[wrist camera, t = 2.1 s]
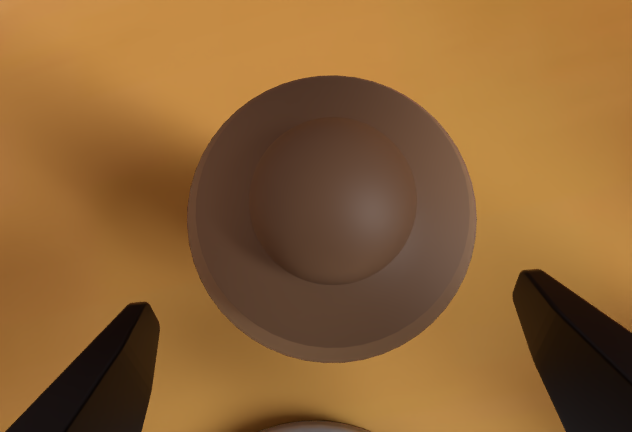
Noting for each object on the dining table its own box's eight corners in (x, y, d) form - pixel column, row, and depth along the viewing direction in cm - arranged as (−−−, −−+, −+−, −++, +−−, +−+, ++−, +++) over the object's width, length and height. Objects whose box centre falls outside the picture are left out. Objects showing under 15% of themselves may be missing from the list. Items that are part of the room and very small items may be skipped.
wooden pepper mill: (314, 315, 19) (273, 526, 4) (257, 231, 19) (28, 133, 4) (397, 257, 19) (659, 243, 4) (339, 175, 19) (384, -99, 5)
